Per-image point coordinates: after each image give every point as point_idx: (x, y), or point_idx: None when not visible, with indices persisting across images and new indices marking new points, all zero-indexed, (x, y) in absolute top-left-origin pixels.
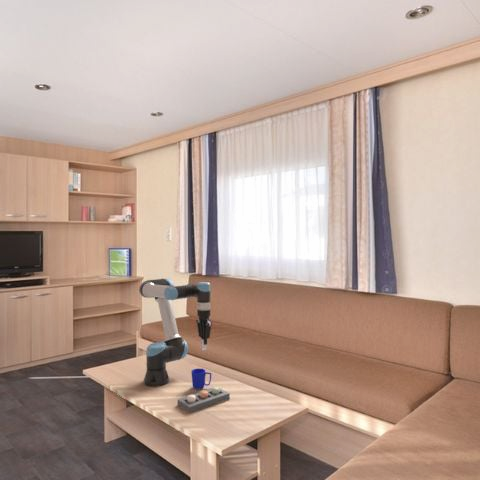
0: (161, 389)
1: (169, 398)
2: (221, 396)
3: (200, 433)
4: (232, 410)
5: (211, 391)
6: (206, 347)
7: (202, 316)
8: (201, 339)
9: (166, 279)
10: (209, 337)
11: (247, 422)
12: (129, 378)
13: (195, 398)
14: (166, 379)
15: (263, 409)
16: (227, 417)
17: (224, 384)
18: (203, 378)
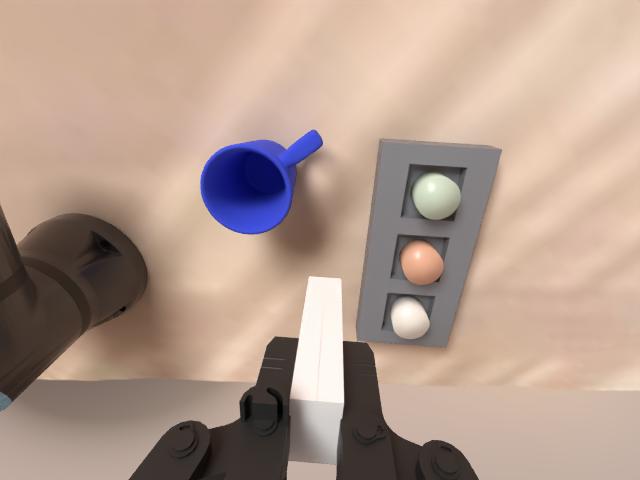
0: (186, 292)
1: (285, 315)
2: (486, 202)
3: (565, 380)
4: (573, 218)
5: (402, 198)
6: (341, 300)
7: None
8: (290, 448)
9: None
10: (469, 463)
11: None
12: None
13: (424, 311)
14: (124, 255)
15: None
16: (588, 269)
17: (331, 24)
18: (292, 173)
